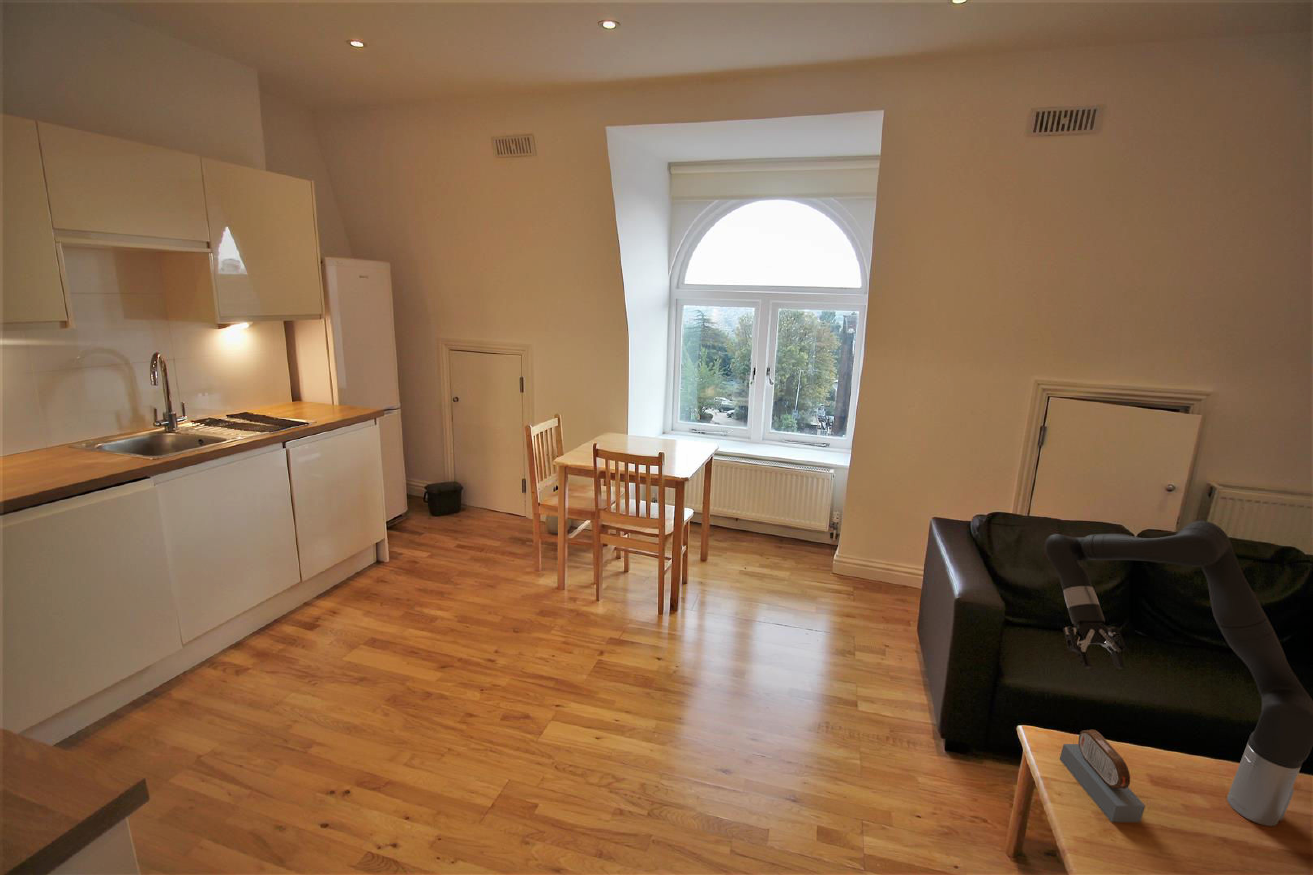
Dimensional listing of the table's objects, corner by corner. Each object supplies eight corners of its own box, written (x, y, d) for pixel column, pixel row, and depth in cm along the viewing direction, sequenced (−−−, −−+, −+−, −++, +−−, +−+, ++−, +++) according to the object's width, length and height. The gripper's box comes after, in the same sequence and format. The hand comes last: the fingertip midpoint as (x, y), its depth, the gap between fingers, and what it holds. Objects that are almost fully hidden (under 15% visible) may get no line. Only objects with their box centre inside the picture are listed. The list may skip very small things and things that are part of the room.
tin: (1126, 796, 146) (1135, 768, 144) (1114, 796, 146) (1122, 768, 144) (1084, 748, 161) (1091, 722, 158) (1072, 748, 161) (1079, 721, 158)
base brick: (1085, 759, 164) (1089, 744, 162) (1140, 822, 146) (1145, 805, 144) (1059, 758, 164) (1063, 743, 162) (1111, 822, 145) (1116, 805, 144)
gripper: (1066, 602, 163) (1086, 665, 156) (1118, 602, 164) (1140, 666, 156) (1049, 608, 170) (1067, 669, 162) (1099, 608, 170) (1120, 670, 163)
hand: (1103, 667), depth 159 cm, fingers open, 8 cm apart
